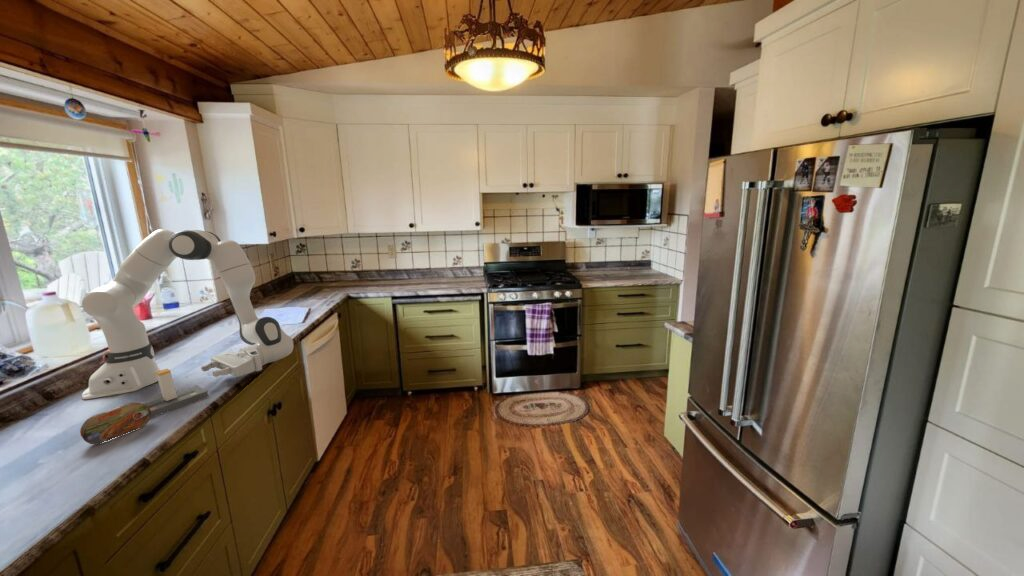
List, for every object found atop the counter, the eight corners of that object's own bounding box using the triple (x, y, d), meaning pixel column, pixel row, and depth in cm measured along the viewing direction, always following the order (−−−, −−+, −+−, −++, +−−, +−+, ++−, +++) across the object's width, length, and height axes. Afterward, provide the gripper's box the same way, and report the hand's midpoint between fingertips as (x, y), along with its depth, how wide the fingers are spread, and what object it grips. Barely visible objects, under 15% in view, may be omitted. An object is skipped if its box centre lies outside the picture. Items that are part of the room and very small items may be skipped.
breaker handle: (166, 401, 134) (158, 373, 132) (163, 399, 136) (155, 371, 133) (177, 397, 136) (170, 370, 134) (174, 395, 138) (166, 368, 136)
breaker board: (142, 421, 127) (140, 415, 126) (132, 413, 132) (131, 407, 131) (208, 396, 141) (207, 390, 141) (197, 390, 146) (196, 384, 146)
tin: (86, 450, 113) (78, 423, 111) (83, 447, 115) (74, 420, 113) (154, 423, 125) (147, 398, 123) (150, 421, 127) (143, 396, 125)
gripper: (235, 345, 161) (193, 358, 149) (260, 355, 149) (218, 369, 138) (238, 360, 162) (197, 374, 151) (264, 370, 151) (222, 386, 140)
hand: (207, 371), depth 144 cm, fingers open, 8 cm apart
